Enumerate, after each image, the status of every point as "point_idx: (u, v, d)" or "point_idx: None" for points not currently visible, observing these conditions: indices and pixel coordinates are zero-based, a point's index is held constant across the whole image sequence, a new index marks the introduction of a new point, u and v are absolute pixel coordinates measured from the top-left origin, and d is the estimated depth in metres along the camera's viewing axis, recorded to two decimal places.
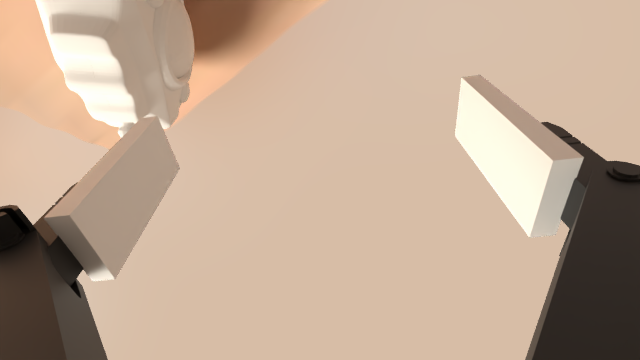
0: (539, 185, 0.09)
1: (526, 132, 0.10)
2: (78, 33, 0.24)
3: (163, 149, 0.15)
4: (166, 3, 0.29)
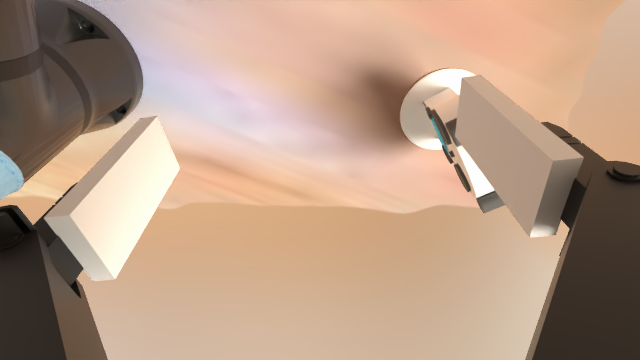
0: (539, 185, 0.09)
1: (526, 132, 0.10)
2: None
3: (163, 149, 0.15)
4: None
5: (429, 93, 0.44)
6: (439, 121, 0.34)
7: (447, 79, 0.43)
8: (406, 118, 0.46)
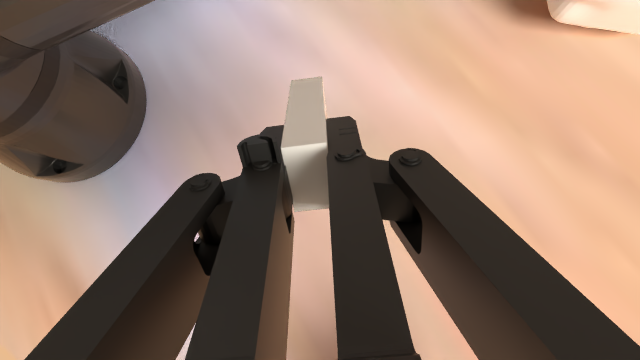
0: None
1: (307, 123, 0.12)
2: None
3: None
4: None
5: None
6: None
7: None
8: None
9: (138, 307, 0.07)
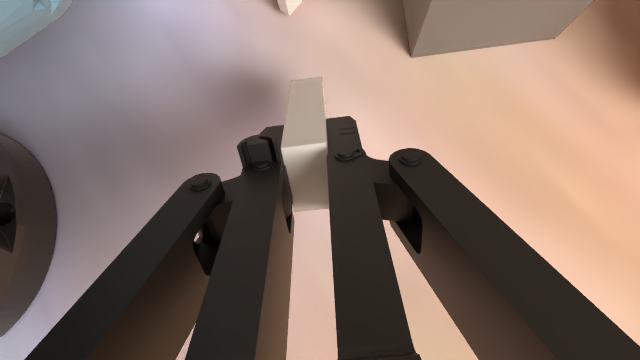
0: None
1: (307, 123, 0.12)
2: None
3: None
4: None
5: None
6: None
7: None
8: None
9: (138, 307, 0.07)
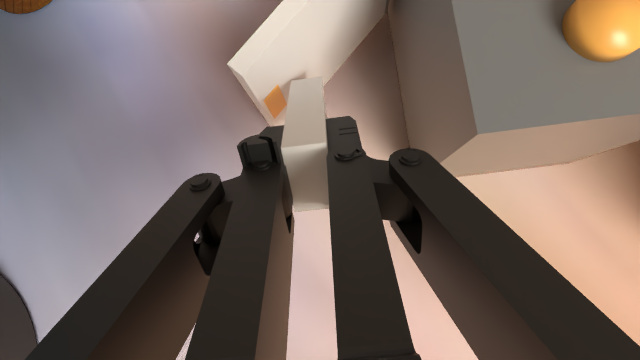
0: None
1: (307, 123, 0.12)
2: None
3: None
4: None
5: None
6: None
7: None
8: None
9: (138, 307, 0.07)
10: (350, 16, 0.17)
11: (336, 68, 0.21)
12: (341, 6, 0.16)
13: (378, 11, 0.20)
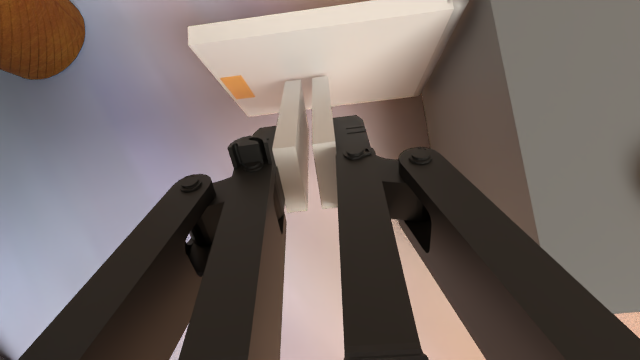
0: None
1: (315, 122, 0.12)
2: None
3: (304, 110, 0.17)
4: None
5: None
6: None
7: None
8: None
9: (130, 308, 0.07)
10: (356, 73, 0.17)
11: (333, 104, 0.20)
12: (342, 58, 0.15)
13: (403, 89, 0.19)
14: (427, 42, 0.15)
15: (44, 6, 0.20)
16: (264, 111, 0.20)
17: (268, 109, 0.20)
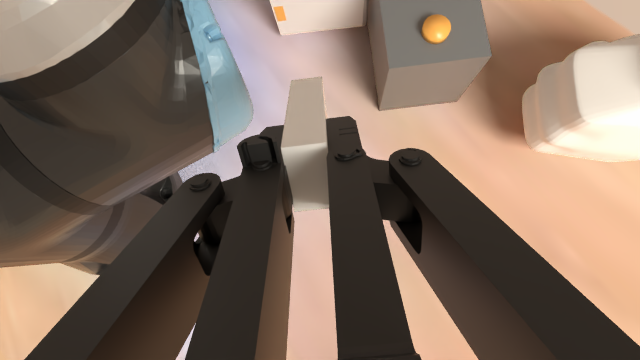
0: None
1: (307, 123, 0.12)
2: None
3: None
4: None
5: None
6: None
7: None
8: None
9: (138, 307, 0.07)
10: (332, 8, 0.38)
11: (323, 28, 0.42)
12: None
13: (356, 20, 0.40)
14: None
15: None
16: (289, 31, 0.42)
17: (291, 30, 0.41)
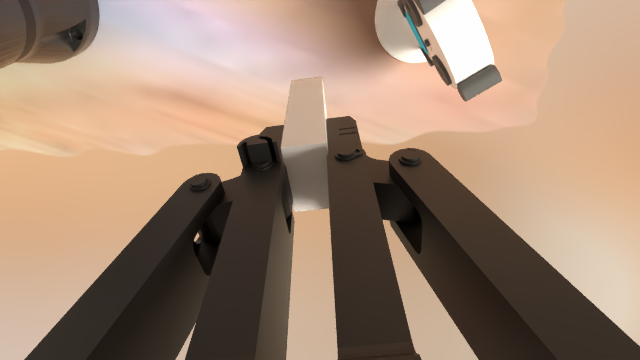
0: None
1: (307, 123, 0.12)
2: None
3: None
4: None
5: None
6: None
7: None
8: (382, 26, 0.42)
9: (138, 307, 0.07)
10: None
11: None
12: None
13: None
14: None
15: None
16: None
17: None
